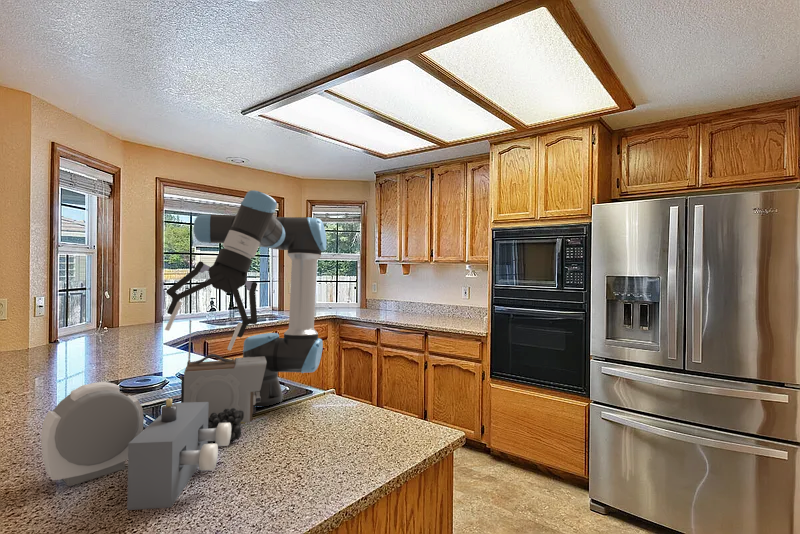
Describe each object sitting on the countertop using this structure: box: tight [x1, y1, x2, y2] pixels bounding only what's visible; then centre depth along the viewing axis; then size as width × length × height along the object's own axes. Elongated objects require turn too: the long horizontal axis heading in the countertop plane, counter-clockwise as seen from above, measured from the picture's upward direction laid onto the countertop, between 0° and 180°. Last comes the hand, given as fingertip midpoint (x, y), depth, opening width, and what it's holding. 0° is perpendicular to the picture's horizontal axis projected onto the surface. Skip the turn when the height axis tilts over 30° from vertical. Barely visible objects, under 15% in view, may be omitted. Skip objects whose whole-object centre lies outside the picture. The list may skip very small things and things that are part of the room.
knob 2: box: [179, 442, 219, 472], centre depth 90 cm, size 5×7×5 cm
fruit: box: [208, 408, 246, 444], centre depth 115 cm, size 9×8×15 cm
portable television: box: [179, 319, 267, 425], centre depth 131 cm, size 12×24×30 cm, turn 112°
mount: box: [126, 402, 209, 511], centre depth 95 cm, size 24×8×13 cm, turn 9°
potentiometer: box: [160, 398, 177, 423], centre depth 95 cm, size 3×3×5 cm
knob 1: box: [198, 423, 231, 447], centre depth 102 cm, size 5×7×5 cm
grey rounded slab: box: [40, 381, 145, 487], centre depth 96 cm, size 18×8×20 cm, turn 141°
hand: (198, 340), depth 95 cm, fingers open, 13 cm apart
